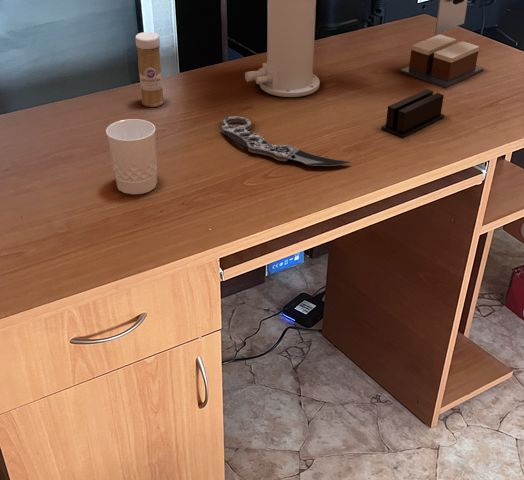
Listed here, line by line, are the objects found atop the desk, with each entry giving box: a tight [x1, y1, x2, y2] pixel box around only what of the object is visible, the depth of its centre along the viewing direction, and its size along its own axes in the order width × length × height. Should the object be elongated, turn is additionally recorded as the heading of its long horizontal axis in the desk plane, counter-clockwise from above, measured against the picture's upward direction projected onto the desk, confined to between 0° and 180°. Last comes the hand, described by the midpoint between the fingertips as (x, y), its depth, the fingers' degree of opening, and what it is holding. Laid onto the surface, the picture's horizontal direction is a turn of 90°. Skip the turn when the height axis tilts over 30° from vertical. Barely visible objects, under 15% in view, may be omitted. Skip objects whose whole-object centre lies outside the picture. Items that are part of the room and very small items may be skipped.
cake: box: [399, 33, 484, 89], centre depth 170 cm, size 14×12×6 cm
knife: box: [220, 115, 352, 167], centre depth 143 cm, size 28×2×10 cm
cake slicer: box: [434, 0, 468, 36], centre depth 162 cm, size 11×2×11 cm, turn 134°
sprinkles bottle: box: [135, 31, 165, 108], centre depth 154 cm, size 5×5×14 cm
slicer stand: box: [380, 88, 445, 139], centre depth 150 cm, size 13×5×5 cm, turn 134°
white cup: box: [105, 118, 158, 195], centre depth 129 cm, size 8×8×10 cm
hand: (453, 0), depth 162 cm, fingers closed on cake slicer, 1 cm apart
